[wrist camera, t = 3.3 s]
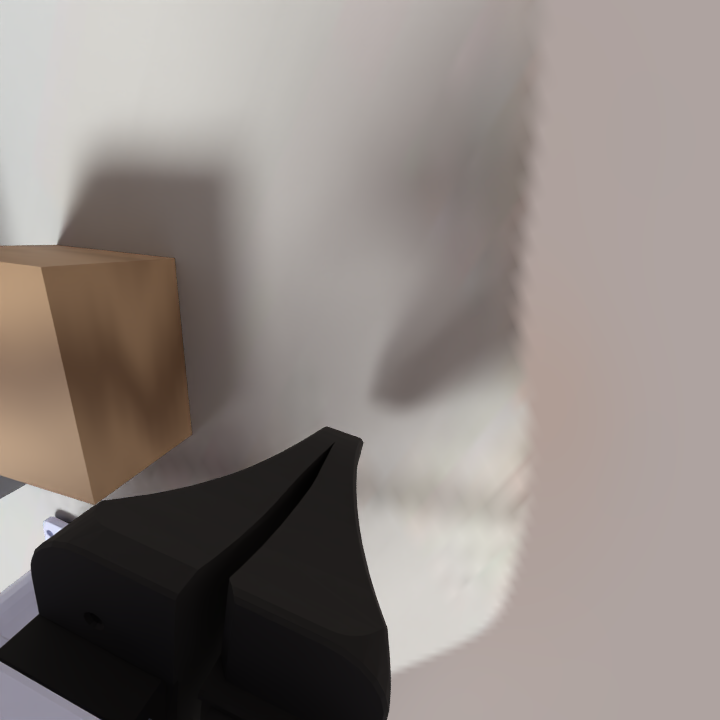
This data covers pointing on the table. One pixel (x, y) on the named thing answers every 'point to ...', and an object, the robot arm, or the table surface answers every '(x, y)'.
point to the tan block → (88, 367)
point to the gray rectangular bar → (8, 485)
